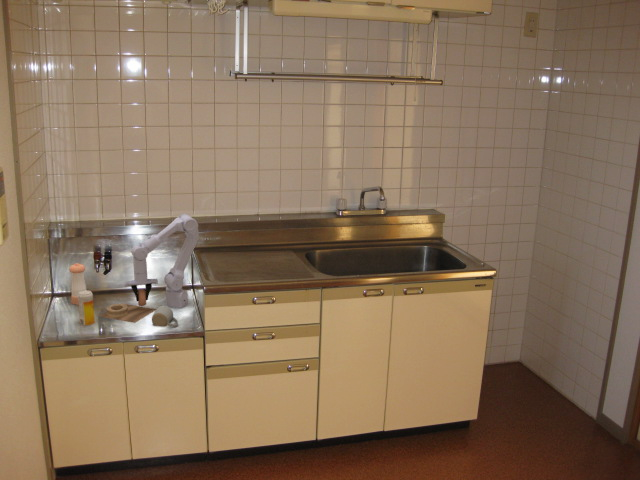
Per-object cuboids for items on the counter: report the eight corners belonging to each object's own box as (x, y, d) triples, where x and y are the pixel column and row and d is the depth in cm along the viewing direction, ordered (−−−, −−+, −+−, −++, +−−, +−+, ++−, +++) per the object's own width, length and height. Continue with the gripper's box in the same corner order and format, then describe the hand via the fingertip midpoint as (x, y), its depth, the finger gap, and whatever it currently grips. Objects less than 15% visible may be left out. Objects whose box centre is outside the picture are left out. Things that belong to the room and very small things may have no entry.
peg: (148, 303, 302) (147, 289, 300) (143, 306, 299) (142, 292, 297) (141, 302, 303) (140, 288, 301) (136, 305, 300) (135, 290, 298)
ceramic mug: (150, 328, 284) (150, 311, 282) (156, 320, 292) (156, 304, 290) (175, 330, 283) (174, 313, 281) (180, 322, 291) (180, 306, 289)
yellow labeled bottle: (97, 323, 288) (95, 291, 283) (88, 328, 282) (86, 295, 278) (86, 321, 289) (83, 289, 285) (77, 326, 284) (74, 293, 280)
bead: (131, 311, 298) (131, 305, 297) (119, 319, 290) (119, 312, 289) (115, 309, 301) (114, 302, 300) (102, 315, 293) (102, 309, 292)
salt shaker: (69, 301, 312) (66, 262, 307) (85, 298, 316) (82, 260, 311) (74, 305, 307) (71, 266, 301) (90, 302, 311) (87, 264, 306)
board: (156, 311, 302) (156, 309, 302) (135, 325, 287) (134, 322, 286) (121, 305, 308) (121, 303, 308) (98, 318, 293) (98, 316, 292)
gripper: (155, 267, 302) (157, 295, 306) (123, 270, 297) (124, 298, 301) (157, 272, 296) (159, 300, 300) (124, 275, 291) (126, 304, 295)
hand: (142, 300), depth 300 cm, fingers closed on peg, 4 cm apart
